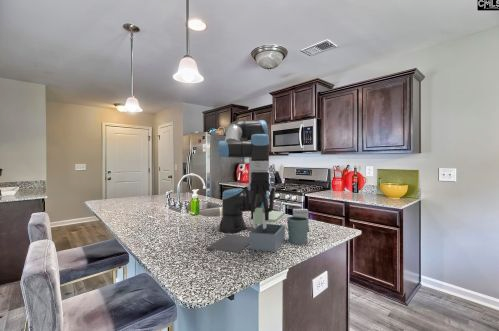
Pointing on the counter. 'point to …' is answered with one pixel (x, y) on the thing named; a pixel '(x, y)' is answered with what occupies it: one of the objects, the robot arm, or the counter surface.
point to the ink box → (301, 214)
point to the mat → (230, 243)
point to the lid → (273, 216)
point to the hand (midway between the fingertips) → (259, 227)
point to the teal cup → (297, 229)
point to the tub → (267, 237)
